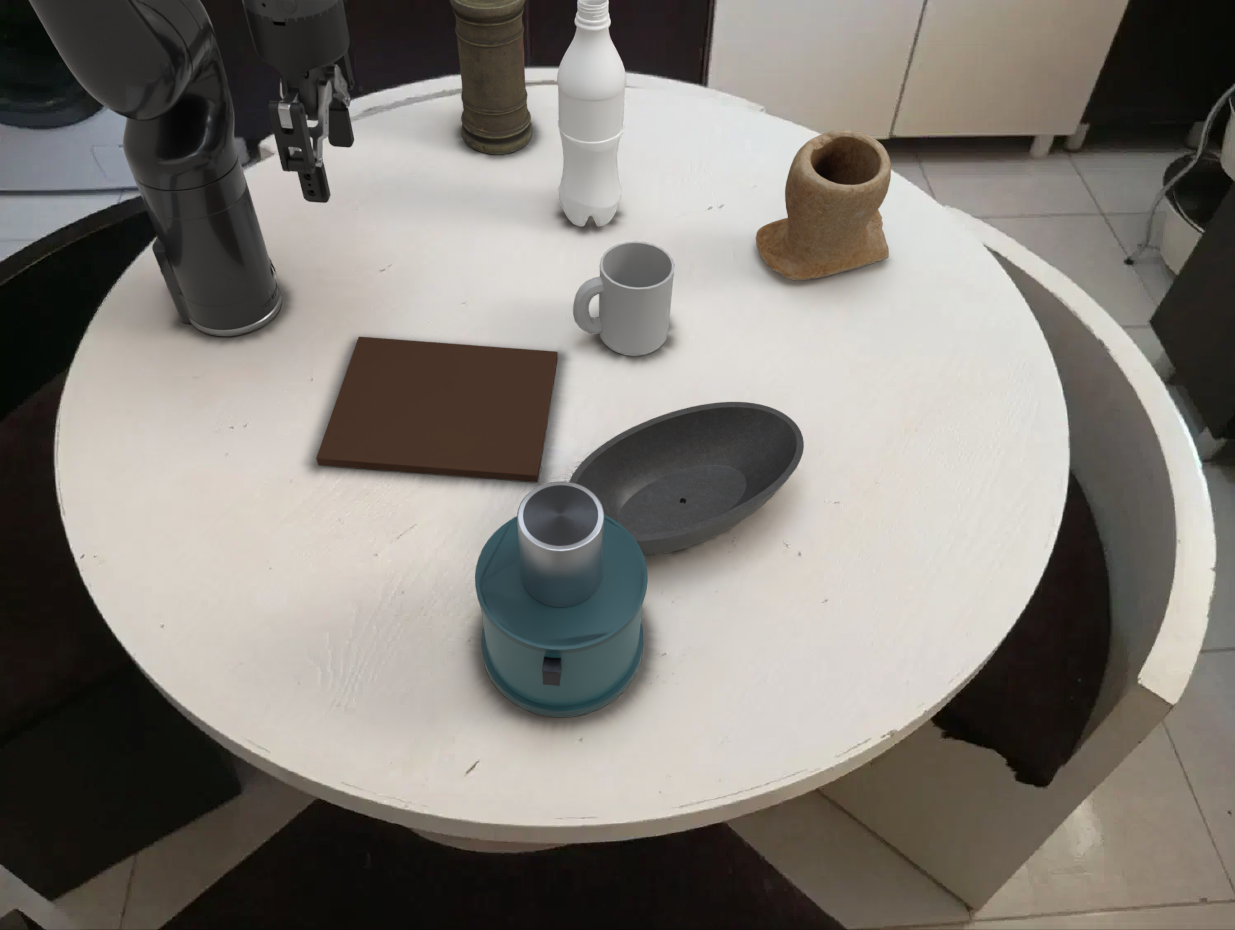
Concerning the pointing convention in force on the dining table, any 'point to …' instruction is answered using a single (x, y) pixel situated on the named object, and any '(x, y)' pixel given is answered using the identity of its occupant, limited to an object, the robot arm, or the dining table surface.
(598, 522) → the silver cup
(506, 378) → the mat
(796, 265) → the stone cup
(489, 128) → the container
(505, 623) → the teal round canister
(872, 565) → the dining table surface
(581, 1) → the water bottle
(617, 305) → the cup
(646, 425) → the bowl
